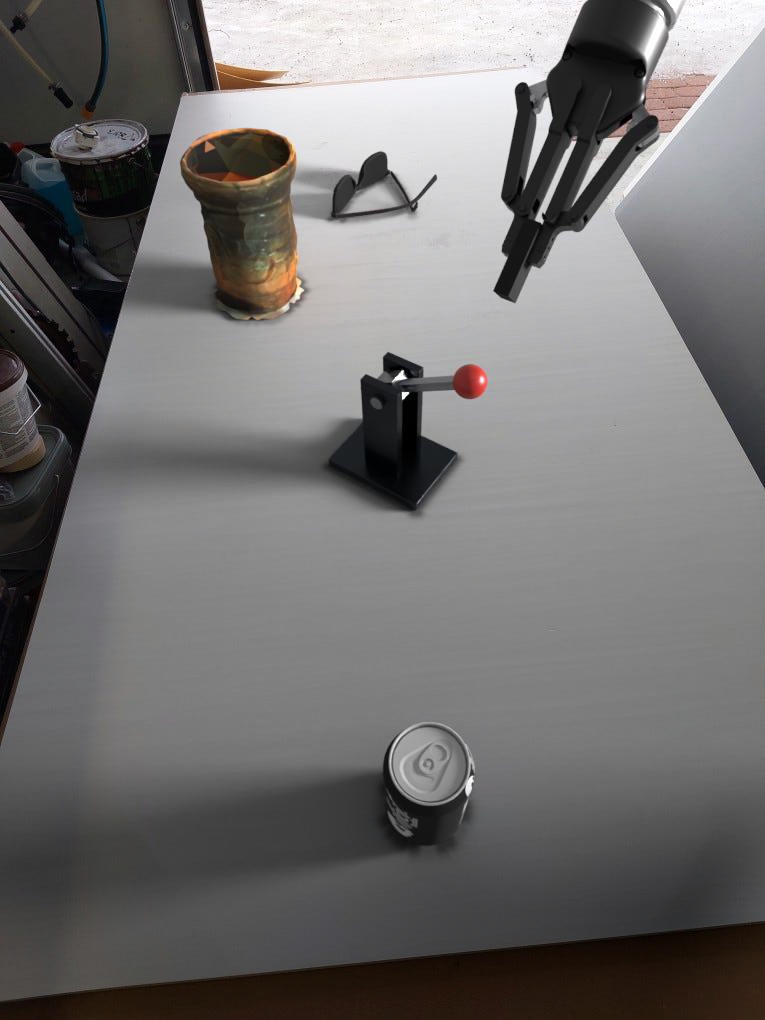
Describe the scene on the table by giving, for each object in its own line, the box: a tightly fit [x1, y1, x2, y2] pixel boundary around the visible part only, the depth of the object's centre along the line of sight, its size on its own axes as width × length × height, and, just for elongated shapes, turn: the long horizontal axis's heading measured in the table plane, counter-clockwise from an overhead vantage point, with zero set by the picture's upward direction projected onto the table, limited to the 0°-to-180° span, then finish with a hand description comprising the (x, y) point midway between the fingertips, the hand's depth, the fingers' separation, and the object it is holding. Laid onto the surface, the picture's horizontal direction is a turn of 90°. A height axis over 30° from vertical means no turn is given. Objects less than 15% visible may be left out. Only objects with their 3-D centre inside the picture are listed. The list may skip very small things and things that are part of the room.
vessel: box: [179, 127, 305, 321], centre depth 92 cm, size 14×14×20 cm
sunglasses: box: [330, 150, 438, 220], centre depth 111 cm, size 17×14×5 cm
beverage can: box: [382, 721, 476, 847], centre depth 53 cm, size 7×7×12 cm
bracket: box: [327, 351, 459, 512], centre depth 75 cm, size 12×9×14 cm
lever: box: [376, 363, 488, 400], centre depth 67 cm, size 13×3×3 cm, turn 56°
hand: (504, 297), depth 61 cm, fingers closed
